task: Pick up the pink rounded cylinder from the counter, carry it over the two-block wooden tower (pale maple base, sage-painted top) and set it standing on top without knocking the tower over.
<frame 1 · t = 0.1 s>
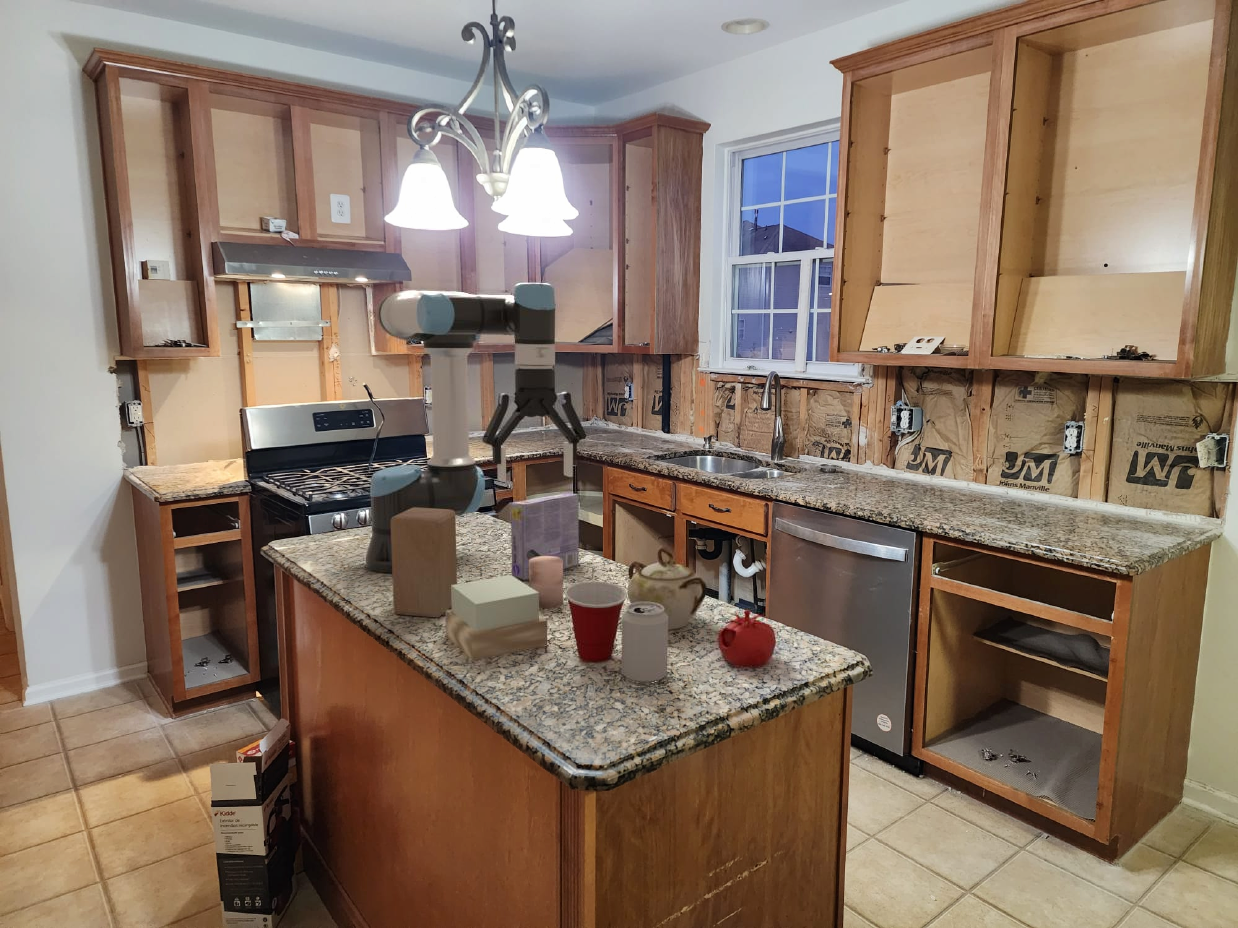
hand: (535, 478, 155), 28 cm above the countertop, tool pointing down, fingers open, 13 cm apart
block: (426, 609, 163), on the countertop
pomegranate: (745, 661, 140), on the countertop
tower top: (494, 615, 147), point 5 cm above the countertop, touching tower base
tower base: (496, 641, 148), on the countertop, touching tower top
sugar bowl: (665, 623, 157), on the countertop
plastic cup: (595, 657, 140), on the countertop
cake pan box: (547, 571, 190), on the countertop
can: (644, 677, 133), on the countertop
pink rounded cylinder: (546, 602, 168), on the countertop
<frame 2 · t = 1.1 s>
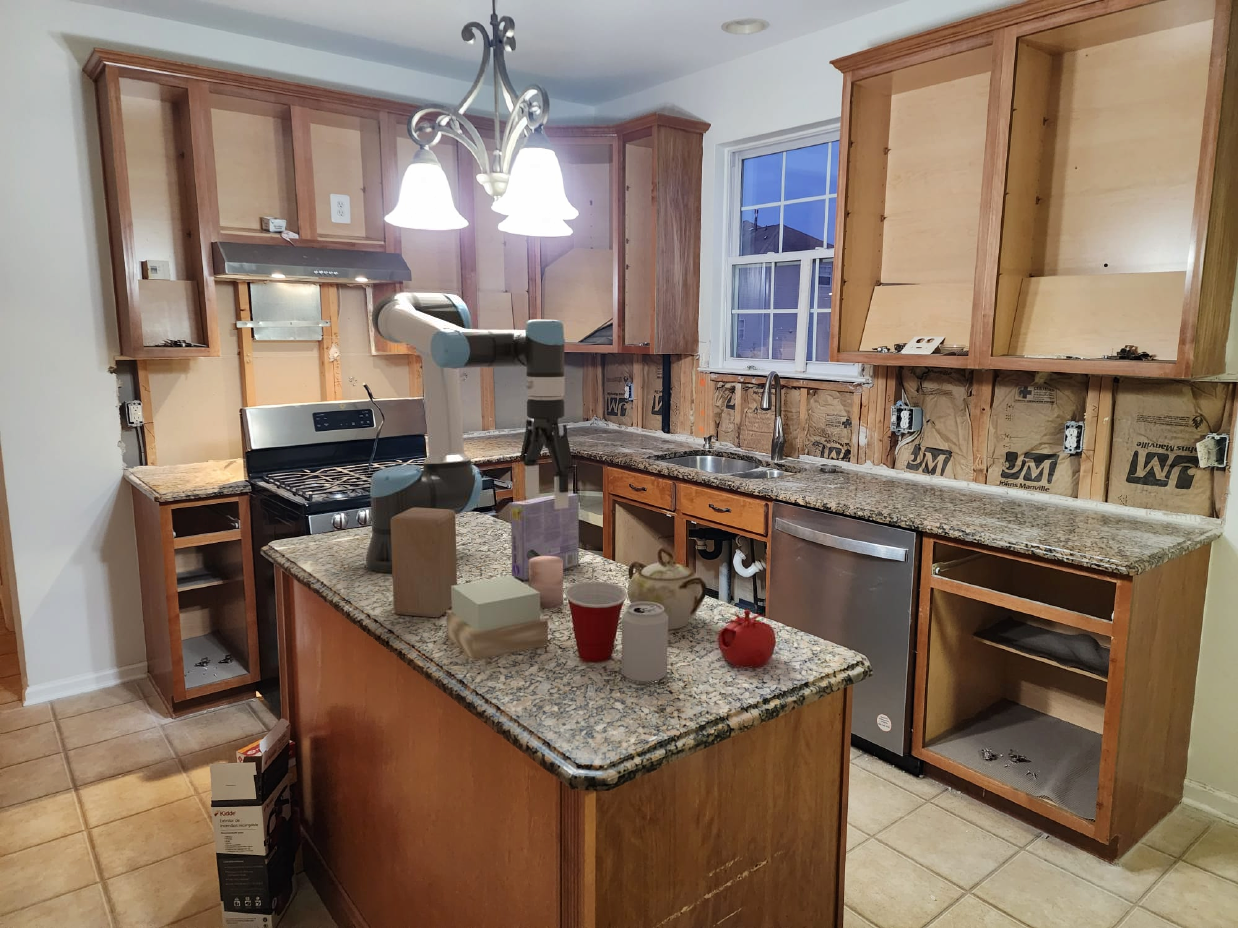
hand: (546, 502, 165), 21 cm above the countertop, tool pointing down, fingers open, 13 cm apart
nothing on the countertop moved.
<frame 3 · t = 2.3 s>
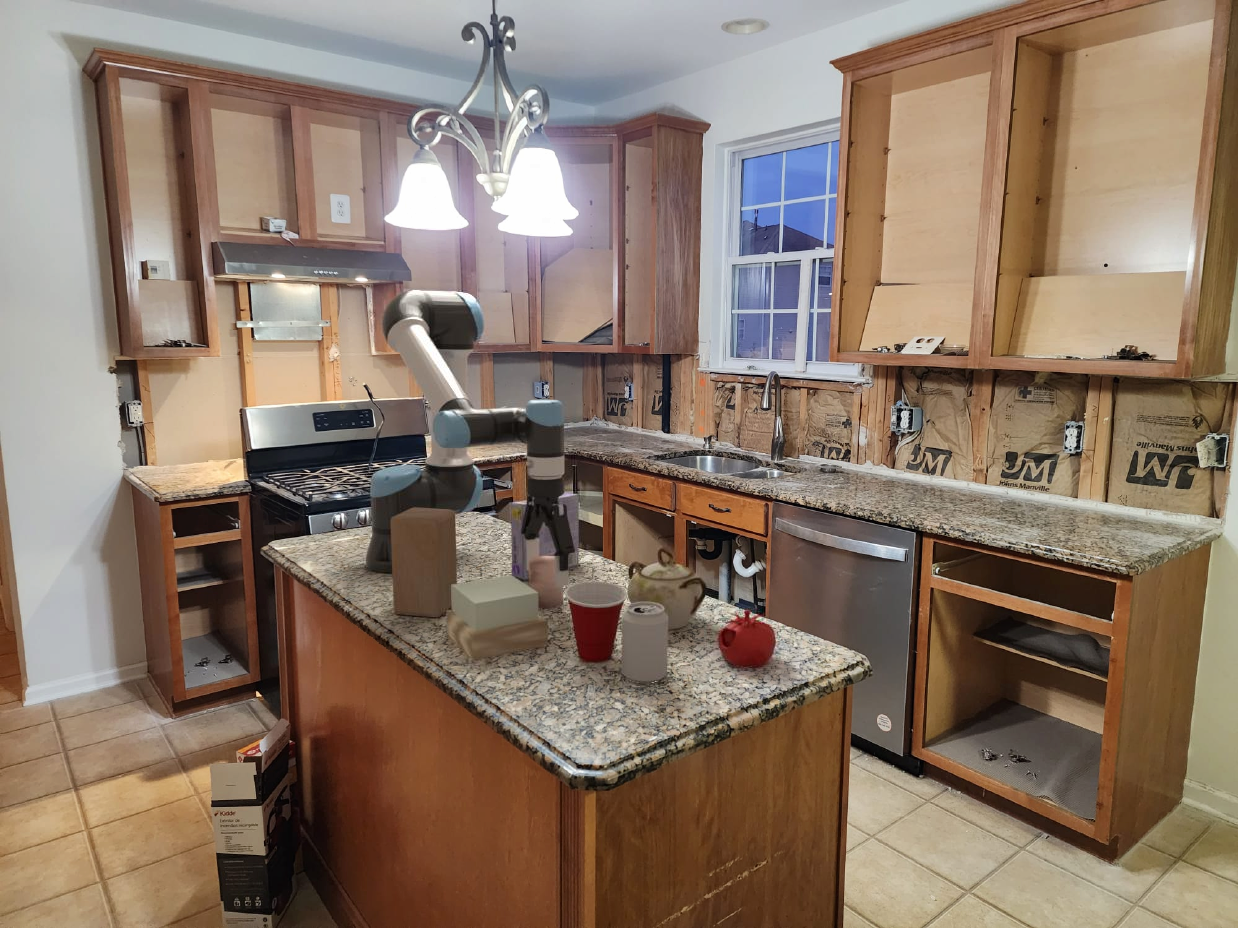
hand: (546, 577, 167), 5 cm above the countertop, tool pointing down, fingers open, 13 cm apart
nothing on the countertop moved.
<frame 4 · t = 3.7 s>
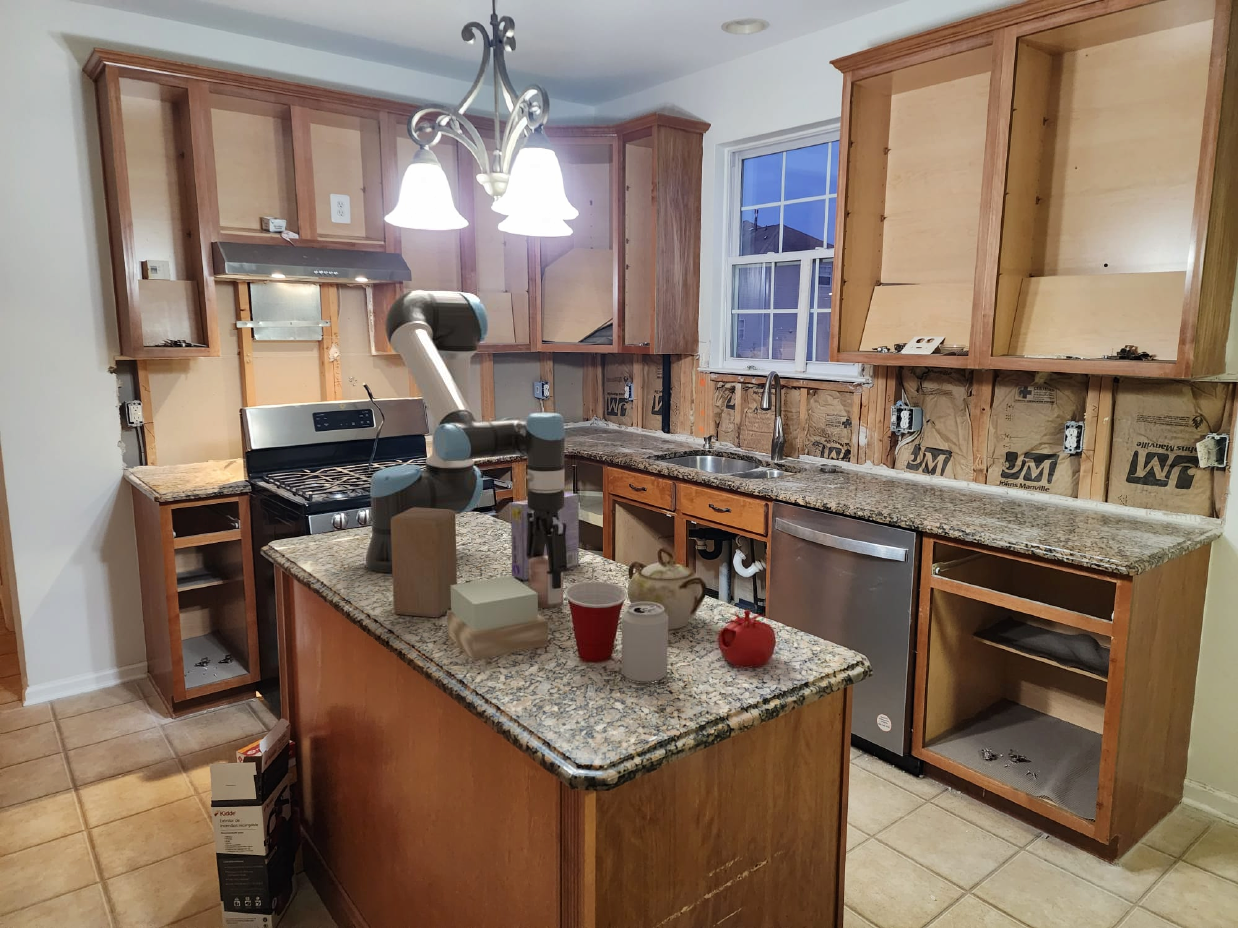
hand: (546, 597, 168), 1 cm above the countertop, tool pointing down, fingers closed on pink rounded cylinder, 7 cm apart
tower top: (493, 615, 147), point 5 cm above the countertop
tower base: (497, 641, 148), on the countertop
pink rounded cylinder: (546, 602, 168), on the countertop, touching gripper
everything else where it was.
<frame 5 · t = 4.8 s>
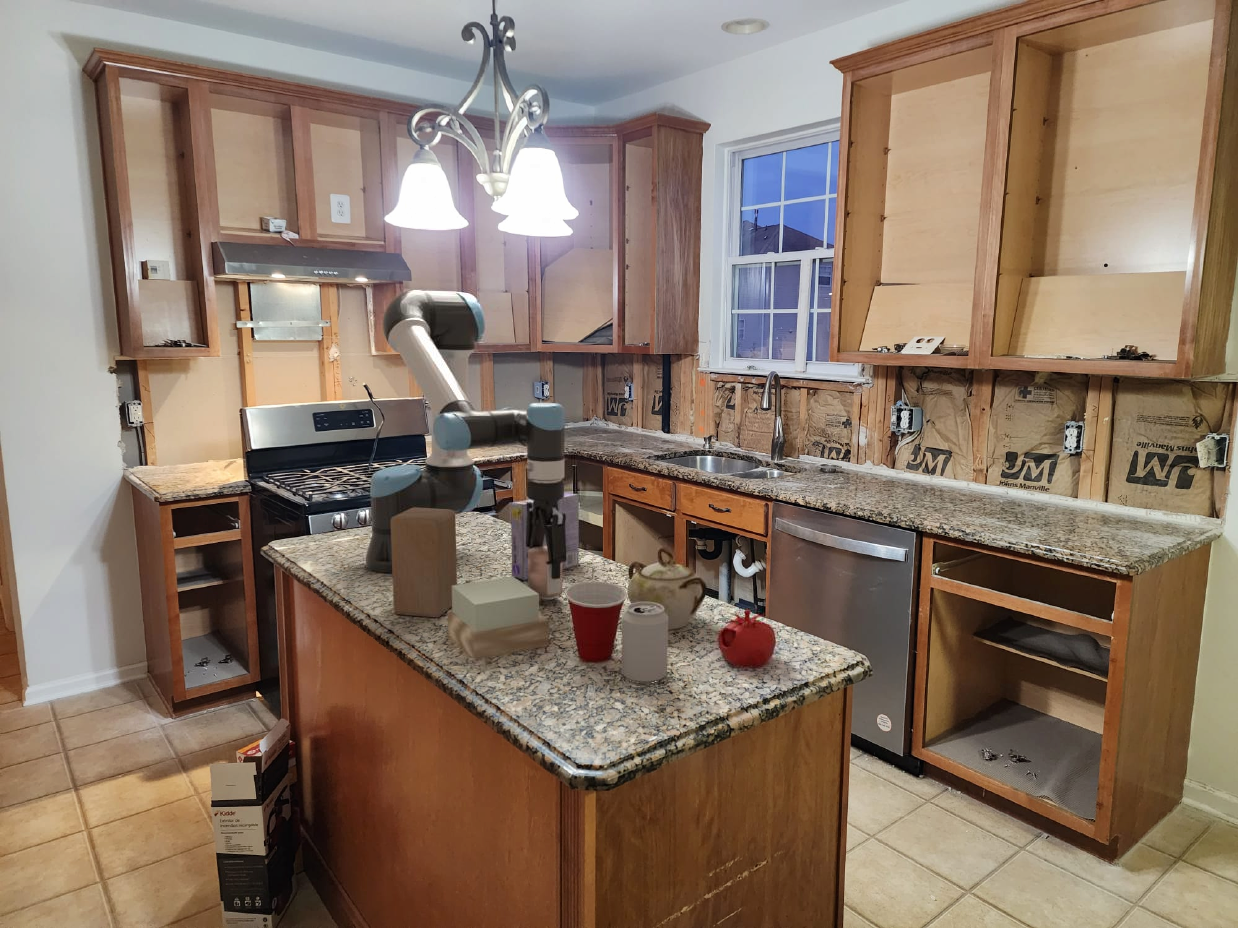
hand: (545, 587, 168), 3 cm above the countertop, tool pointing down, fingers closed on pink rounded cylinder, 7 cm apart
tower top: (495, 616, 147), point 5 cm above the countertop, touching tower base
tower base: (497, 641, 148), on the countertop, touching tower top
pink rounded cylinder: (545, 592, 168), point 2 cm above the countertop, touching gripper
everything else where it was.
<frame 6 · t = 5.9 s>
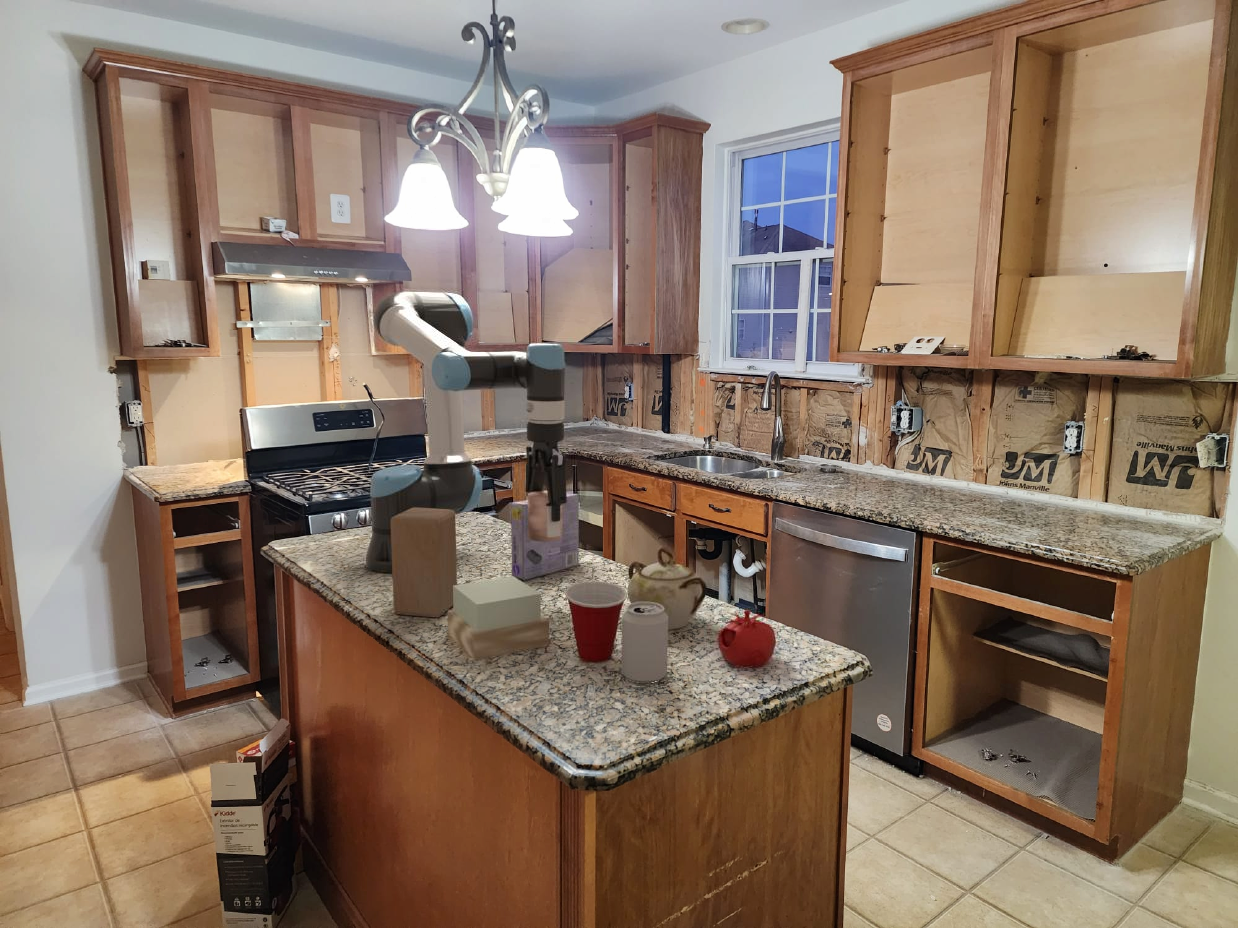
hand: (545, 531, 166), 15 cm above the countertop, tool pointing down, fingers closed on pink rounded cylinder, 7 cm apart
pink rounded cylinder: (545, 536, 166), point 14 cm above the countertop, touching gripper
everything else where it was.
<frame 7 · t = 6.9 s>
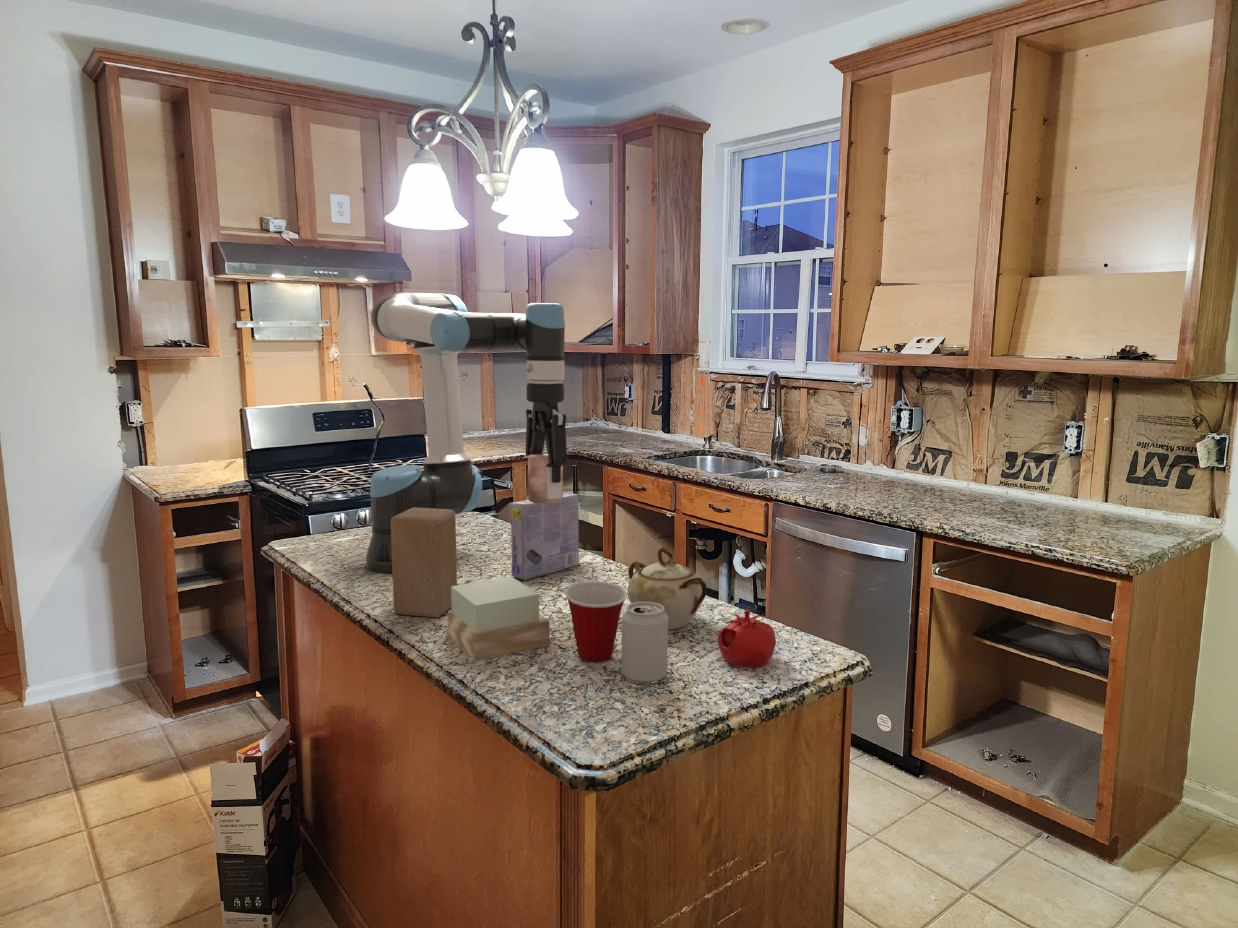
hand: (545, 494, 164), 23 cm above the countertop, tool pointing down, fingers closed on pink rounded cylinder, 7 cm apart
pink rounded cylinder: (545, 499, 165), point 22 cm above the countertop, touching gripper
everything else where it was.
when the fingers open (12 cm above the countertop, at t = 12.9 s): pink rounded cylinder drops 2 cm, resting on tower top.
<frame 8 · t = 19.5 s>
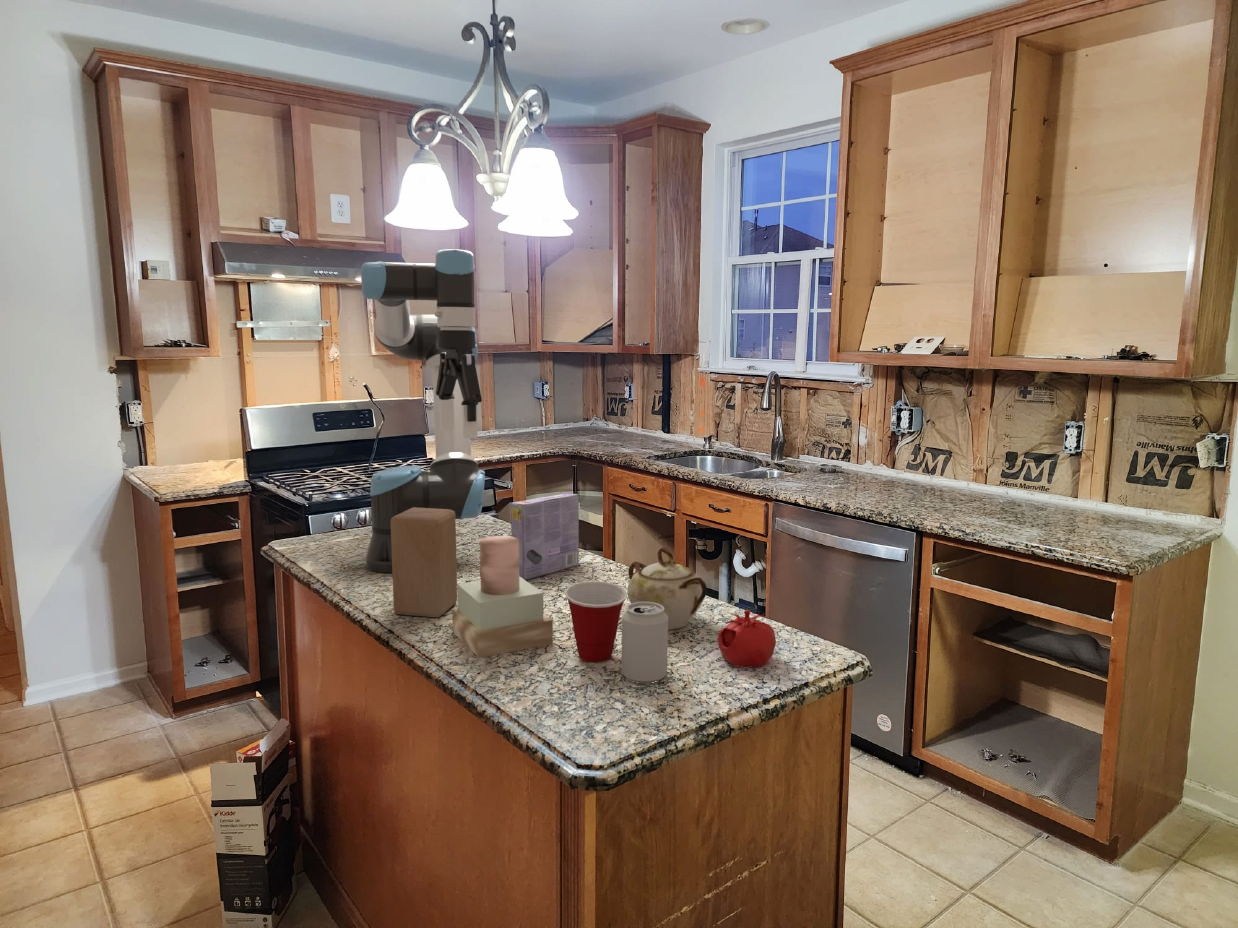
hand: (458, 434, 166), 35 cm above the countertop, tool pointing down, fingers open, 13 cm apart
tower top: (499, 614, 148), point 4 cm above the countertop, touching tower base, pink rounded cylinder
tower base: (502, 640, 149), on the countertop, touching tower top
pink rounded cylinder: (500, 588, 147), point 9 cm above the countertop, touching tower top
everything else where it was.
at the end: pink rounded cylinder inside the target area on the tower top (0.3 cm from its centre), point 5.0 cm above the tower top's base; pink rounded cylinder tilted 0°; tower top 0.3 cm off-centre on the tower base, point 5.0 cm above the tower base's base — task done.
